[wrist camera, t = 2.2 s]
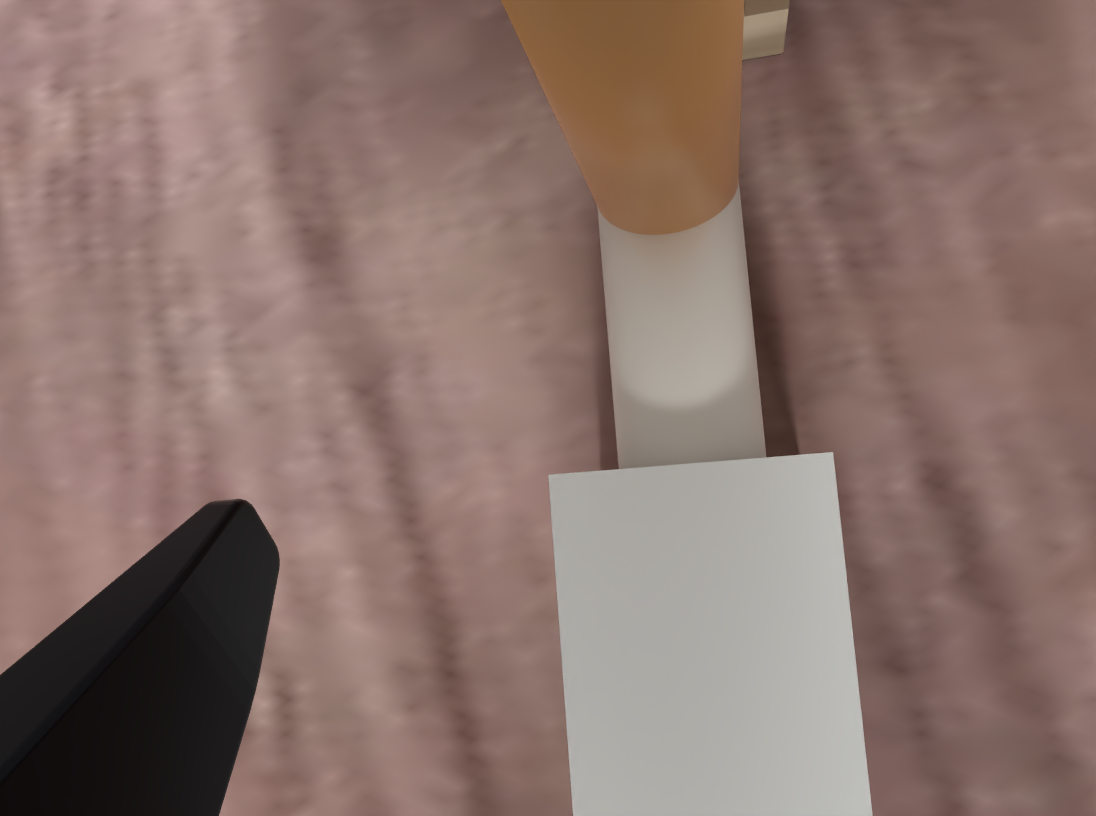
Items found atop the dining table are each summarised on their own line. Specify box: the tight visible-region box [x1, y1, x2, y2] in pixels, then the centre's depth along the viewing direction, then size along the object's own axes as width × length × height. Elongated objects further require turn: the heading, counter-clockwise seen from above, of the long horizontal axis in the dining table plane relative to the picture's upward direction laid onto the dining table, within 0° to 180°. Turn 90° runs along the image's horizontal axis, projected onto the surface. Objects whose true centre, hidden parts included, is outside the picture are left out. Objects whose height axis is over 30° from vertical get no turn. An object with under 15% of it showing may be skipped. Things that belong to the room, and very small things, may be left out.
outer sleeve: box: [548, 452, 872, 816], centre depth 18 cm, size 9×5×6 cm, turn 4°
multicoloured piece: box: [501, 0, 766, 469], centre depth 13 cm, size 16×3×12 cm, turn 4°
